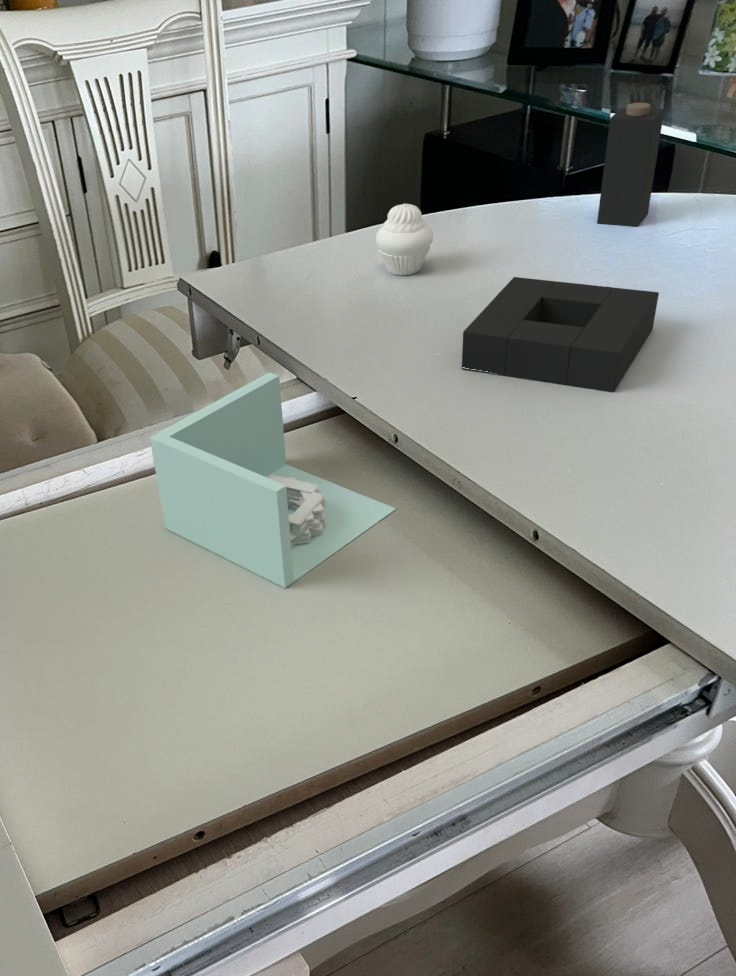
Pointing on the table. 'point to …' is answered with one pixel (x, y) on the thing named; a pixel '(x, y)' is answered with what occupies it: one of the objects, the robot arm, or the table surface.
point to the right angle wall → (253, 488)
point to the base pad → (560, 332)
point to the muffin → (404, 240)
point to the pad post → (630, 164)
